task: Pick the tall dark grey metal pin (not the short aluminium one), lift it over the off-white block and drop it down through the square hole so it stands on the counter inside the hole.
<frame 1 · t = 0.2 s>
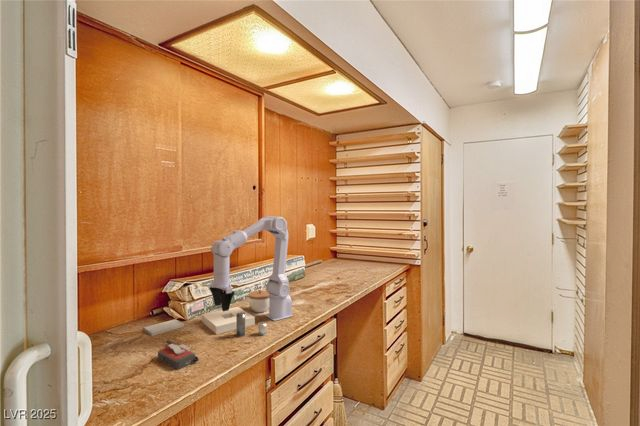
hand: (221, 307, 121), 10 cm above the counter, tool pointing down, fingers open, 7 cm apart
tall pin: (240, 335, 120), on the counter
lidded jar: (260, 310, 147), on the counter
hole block: (228, 323, 131), on the counter
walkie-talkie: (174, 357, 103), on the counter
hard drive: (163, 330, 125), on the counter
short pin: (262, 334, 121), on the counter
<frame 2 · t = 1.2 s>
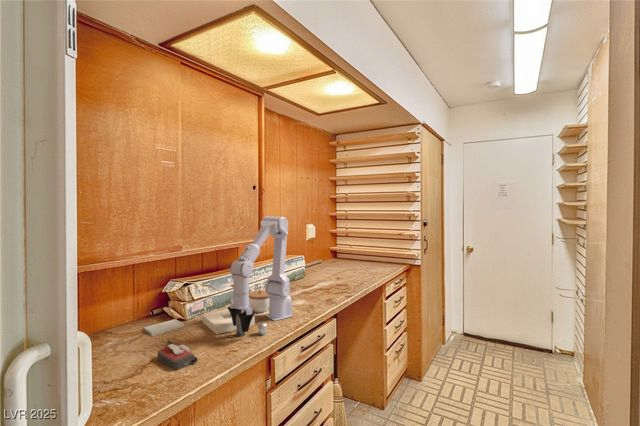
hand: (240, 328, 120), 3 cm above the counter, tool pointing down, fingers open, 7 cm apart
nothing on the counter moved.
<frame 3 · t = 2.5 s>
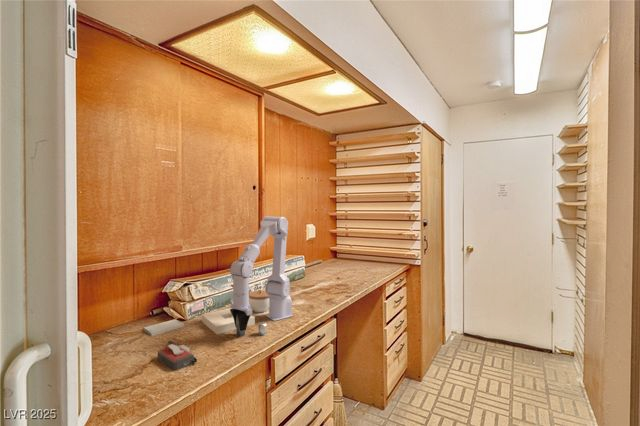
hand: (240, 328, 120), 2 cm above the counter, tool pointing down, fingers closed on tall pin, 3 cm apart
tall pin: (240, 335, 120), on the counter, touching gripper
everything else where it was.
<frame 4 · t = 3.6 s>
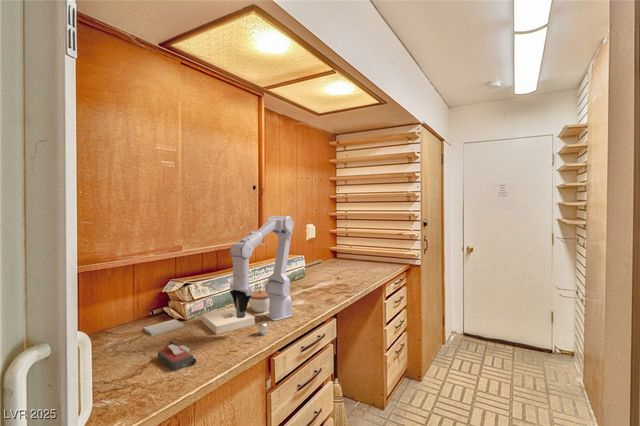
hand: (240, 310, 120), 9 cm above the counter, tool pointing down, fingers closed on tall pin, 3 cm apart
tall pin: (240, 316, 120), point 7 cm above the counter, touching gripper
everything else where it was.
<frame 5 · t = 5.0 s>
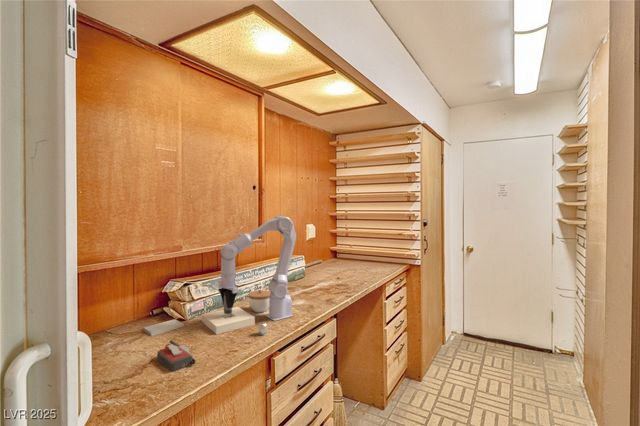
hand: (228, 306, 131), 7 cm above the counter, tool pointing down, fingers closed on tall pin, 3 cm apart
tall pin: (227, 312, 131), point 4 cm above the counter, touching gripper
everything else where it was.
when the fingers open (4 cm above the counter, at t = 6.2 s): tall pin drops 1 cm, resting in hole block.
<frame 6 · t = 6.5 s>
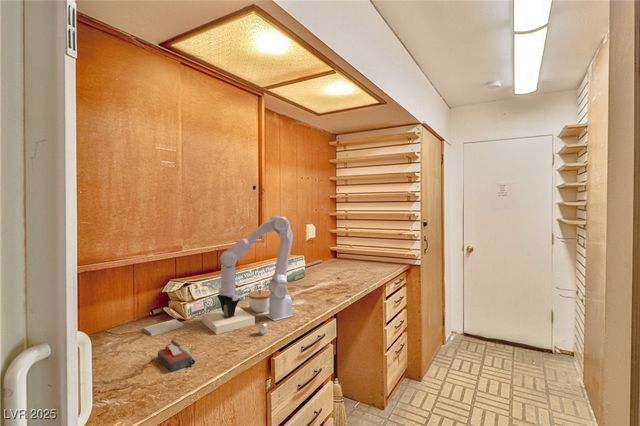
hand: (228, 313, 131), 4 cm above the counter, tool pointing down, fingers open, 5 cm apart
tall pin: (227, 323, 131), resting in hole block
everything else where it was.
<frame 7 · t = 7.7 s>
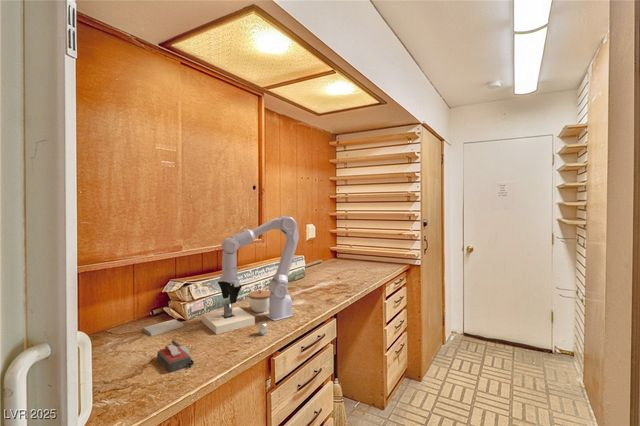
hand: (229, 300, 131), 9 cm above the counter, tool pointing down, fingers open, 7 cm apart
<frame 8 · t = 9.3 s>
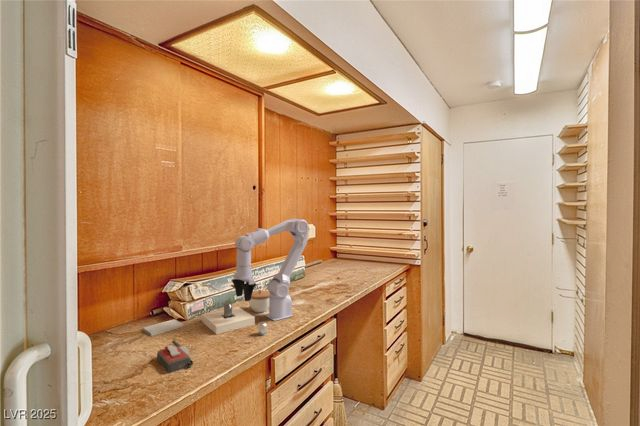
hand: (243, 298, 131), 10 cm above the counter, tool pointing down, fingers open, 7 cm apart
at the end: tall pin 0.1 cm off-centre on the hole block, point 0.0 cm above the hole block's base; tall pin tilted 0°; short pin moved 0.1 cm from its start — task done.
